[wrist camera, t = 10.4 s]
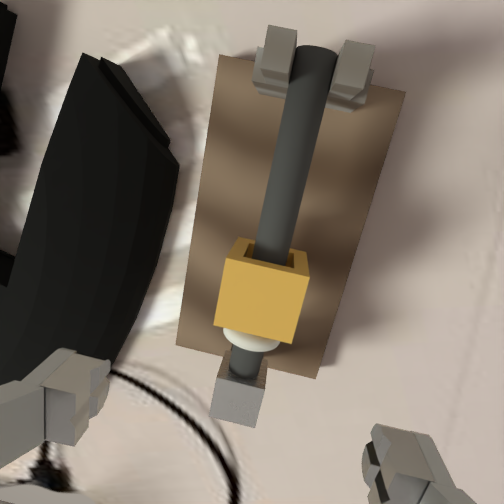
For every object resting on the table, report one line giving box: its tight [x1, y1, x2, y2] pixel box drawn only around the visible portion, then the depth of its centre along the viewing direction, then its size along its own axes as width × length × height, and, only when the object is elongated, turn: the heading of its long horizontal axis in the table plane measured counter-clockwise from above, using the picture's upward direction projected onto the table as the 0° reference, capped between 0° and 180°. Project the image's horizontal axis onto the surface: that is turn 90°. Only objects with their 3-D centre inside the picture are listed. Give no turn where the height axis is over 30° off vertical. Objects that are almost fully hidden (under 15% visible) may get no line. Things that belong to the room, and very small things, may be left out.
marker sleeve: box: [213, 237, 310, 344], centre depth 20 cm, size 4×4×4 cm
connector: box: [209, 343, 268, 428], centre depth 24 cm, size 3×3×7 cm
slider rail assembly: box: [176, 25, 406, 379], centre depth 21 cm, size 22×12×10 cm, turn 169°
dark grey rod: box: [223, 45, 338, 379], centre depth 19 cm, size 18×4×4 cm, turn 169°
